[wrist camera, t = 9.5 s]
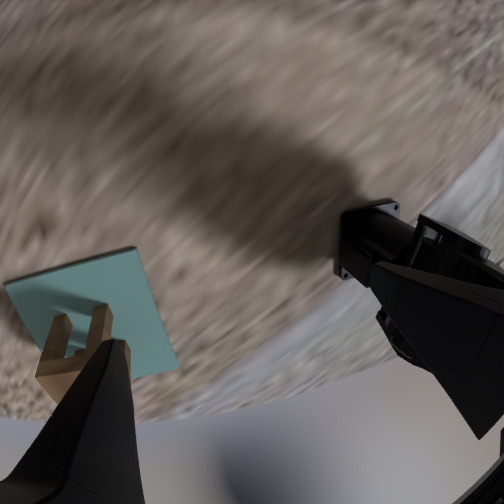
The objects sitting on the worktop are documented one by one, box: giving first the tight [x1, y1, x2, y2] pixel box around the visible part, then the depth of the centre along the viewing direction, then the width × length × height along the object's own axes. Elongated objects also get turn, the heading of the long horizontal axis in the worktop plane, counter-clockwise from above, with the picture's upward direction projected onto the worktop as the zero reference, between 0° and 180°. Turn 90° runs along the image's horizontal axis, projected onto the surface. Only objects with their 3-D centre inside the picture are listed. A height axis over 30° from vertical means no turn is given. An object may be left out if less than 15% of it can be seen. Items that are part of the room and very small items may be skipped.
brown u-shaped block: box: [35, 303, 131, 404], centre depth 17 cm, size 5×5×7 cm
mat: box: [4, 248, 180, 378], centre depth 20 cm, size 12×12×1 cm
